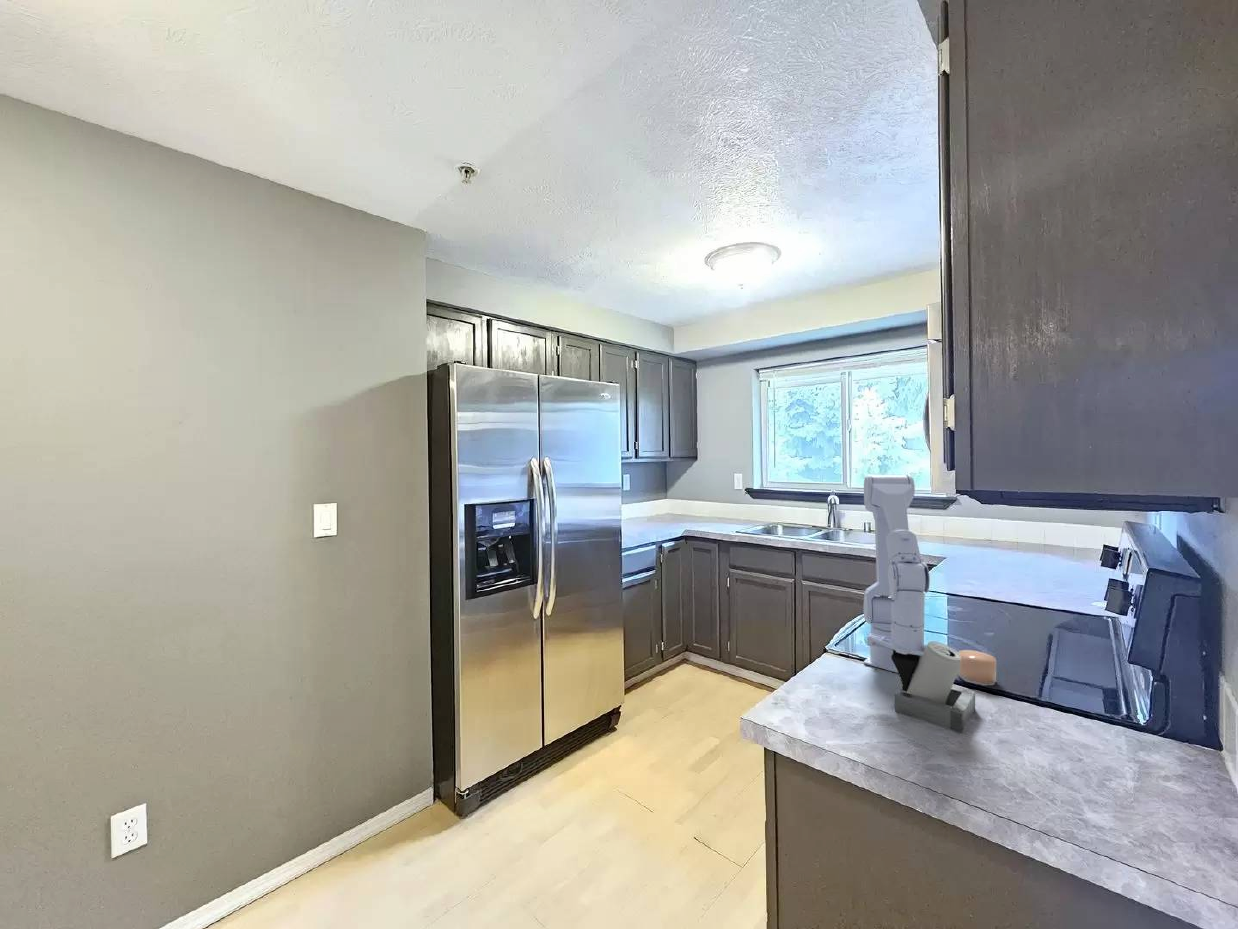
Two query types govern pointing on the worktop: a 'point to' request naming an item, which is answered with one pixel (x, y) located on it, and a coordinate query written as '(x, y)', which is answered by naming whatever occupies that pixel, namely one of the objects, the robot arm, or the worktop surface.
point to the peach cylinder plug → (977, 666)
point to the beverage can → (935, 672)
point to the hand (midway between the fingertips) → (906, 689)
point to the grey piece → (939, 708)
